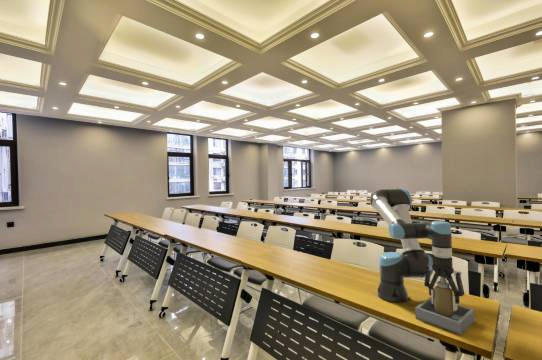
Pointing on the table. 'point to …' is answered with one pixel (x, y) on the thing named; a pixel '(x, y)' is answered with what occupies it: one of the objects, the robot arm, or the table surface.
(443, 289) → the squeeze bottle
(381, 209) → the robot arm
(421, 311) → the bin
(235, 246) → the table surface
